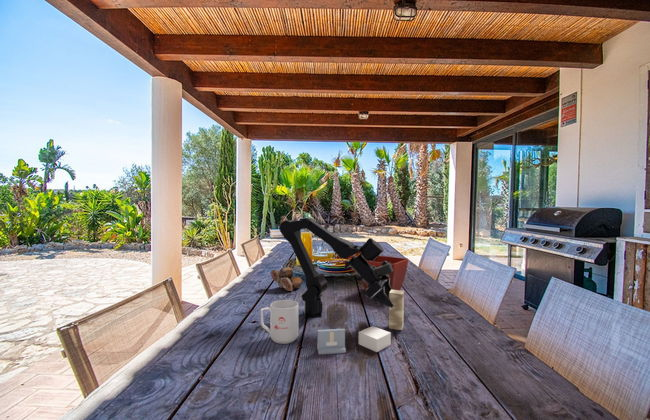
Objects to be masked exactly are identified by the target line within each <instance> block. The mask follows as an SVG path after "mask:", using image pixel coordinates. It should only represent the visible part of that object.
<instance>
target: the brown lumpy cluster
mask: <svg viewBox="0 0 650 420" xmlns="http://www.w3.org/2000/svg"><path fill="white" fill-rule="evenodd" d="M269 274H270V276H271V277H272V280H273V281H274V282H276V283H277V286H278V287H279V288H280V289H284V290H286V291H287V292H288V291H289V292H293V290H294V289H298V288H301V285H302V284H303V283H304V281H303V279H302V278H300V277H297V276H294V274H295V273H294V270H293V268H292V267H288V266H286V267H283V268H281V269H280V271H279V270H278V269H272V270H271V271H270V273H269Z"/></svg>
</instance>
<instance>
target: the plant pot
mask: <svg viewBox="0 0 650 420" xmlns="http://www.w3.org/2000/svg"><path fill="white" fill-rule="evenodd" d="M364 259H365V258H364ZM365 260H366V259H365ZM366 261H367V260H366ZM384 261H387V262H388V263H389V262H390V264H392V268H393V270H394V271H393V272H392V273H390V274H388V275H389V278H390V286H391V288H392V290H401V291H402V288H403V287H402V286H403V284H404V281H405V278H406V274H407V268H408V265H409V264H408V263H409V258H405V257H395V256H385V255H379V256H378V257H377V258H376V259H375V260H374V261H371V260H370V261H367V262H368V263H369V265H371V266H375V267H376V268H377V267H379V266H381V265H382V262H384ZM389 278H388V279H389ZM388 279H386V280H388ZM361 282H362V285H363V288H364V292H365V291H366V289H367V288H368V287H367V286H368V285H367V284H366V283H365V282H364V280H363V279H362V280H361ZM388 298H389V296H388Z"/></svg>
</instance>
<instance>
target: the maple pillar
mask: <svg viewBox="0 0 650 420" xmlns="http://www.w3.org/2000/svg"><path fill="white" fill-rule="evenodd" d="M388 298H389V299H390V301H391V302H392V304H393V305H394V306H393V307H392V308H391V307H388V329H392V330H396V331H403V327H404V323H405V322H404V318H405V316H404V315H405V314H404V310H405V309H404V308H405V306H404V305H405V290H402V289H401V290H392V289H391V291H390V292H389V297H388Z"/></svg>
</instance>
